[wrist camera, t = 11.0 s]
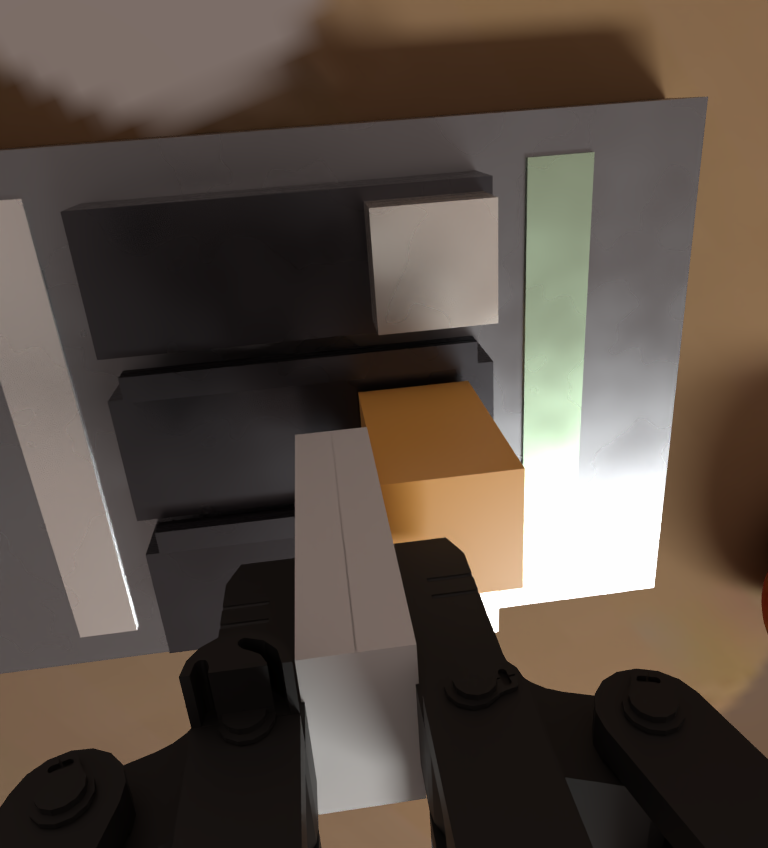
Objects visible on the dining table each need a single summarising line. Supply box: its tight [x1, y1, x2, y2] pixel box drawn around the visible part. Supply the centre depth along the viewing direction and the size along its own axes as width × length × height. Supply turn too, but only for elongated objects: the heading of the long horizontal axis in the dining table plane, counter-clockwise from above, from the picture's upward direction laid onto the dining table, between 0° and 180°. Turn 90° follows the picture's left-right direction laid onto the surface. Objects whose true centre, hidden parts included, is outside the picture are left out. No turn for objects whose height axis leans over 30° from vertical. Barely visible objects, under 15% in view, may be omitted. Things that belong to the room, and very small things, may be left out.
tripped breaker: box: [358, 381, 525, 593], centre depth 15 cm, size 3×3×4 cm
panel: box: [0, 97, 708, 674], centre depth 18 cm, size 20×14×5 cm
